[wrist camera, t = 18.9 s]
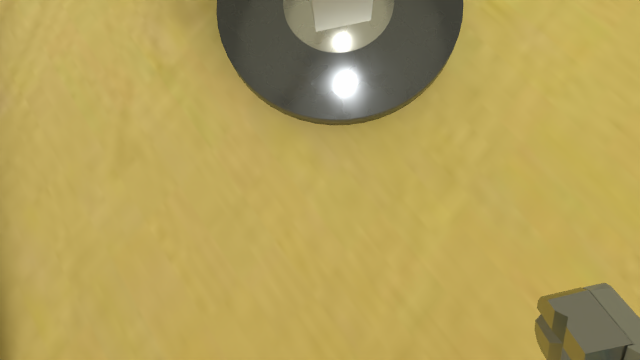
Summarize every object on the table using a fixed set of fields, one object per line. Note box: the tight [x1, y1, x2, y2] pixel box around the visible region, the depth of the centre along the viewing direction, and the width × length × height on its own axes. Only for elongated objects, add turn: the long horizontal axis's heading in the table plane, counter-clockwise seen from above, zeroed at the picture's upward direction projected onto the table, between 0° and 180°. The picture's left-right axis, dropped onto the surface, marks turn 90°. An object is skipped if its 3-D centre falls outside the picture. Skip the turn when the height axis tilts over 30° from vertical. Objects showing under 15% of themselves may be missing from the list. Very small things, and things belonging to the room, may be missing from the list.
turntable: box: [217, 0, 463, 125], centre depth 39 cm, size 20×20×2 cm
